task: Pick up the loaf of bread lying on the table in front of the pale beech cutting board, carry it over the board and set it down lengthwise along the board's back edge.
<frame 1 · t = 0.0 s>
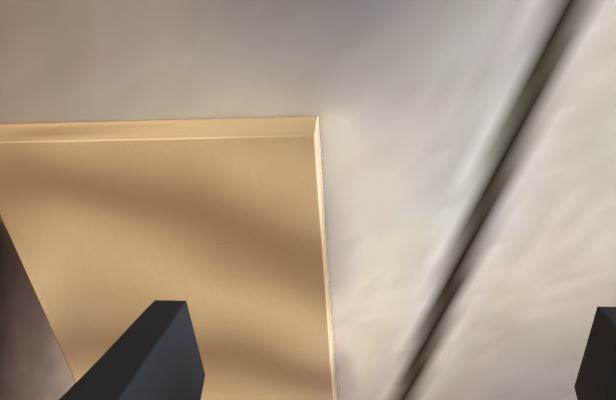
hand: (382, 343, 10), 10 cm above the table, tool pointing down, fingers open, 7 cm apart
board: (203, 339, 25), on the table
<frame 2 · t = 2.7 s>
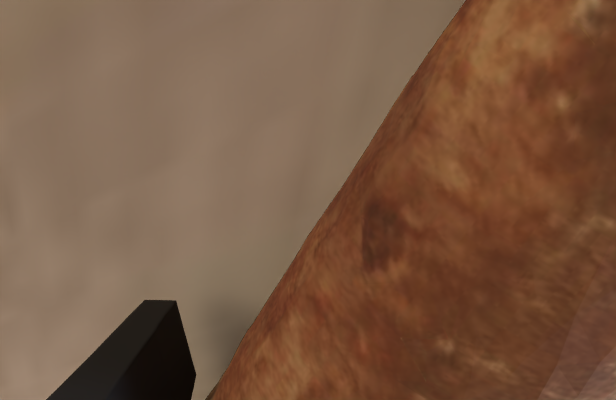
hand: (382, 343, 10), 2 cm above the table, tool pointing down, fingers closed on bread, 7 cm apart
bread: (371, 265, 11), on the table, touching gripper
when the fingers open (3 cm above the table, at t = 7.5 s): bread stays where it is, resting on board.
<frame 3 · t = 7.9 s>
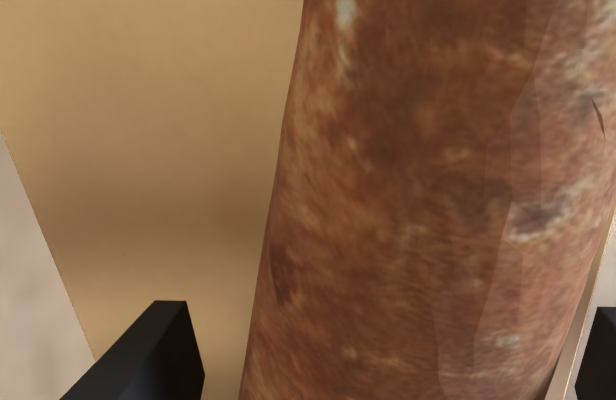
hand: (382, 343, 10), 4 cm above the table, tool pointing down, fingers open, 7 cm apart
board: (317, 225, 13), on the table
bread: (357, 281, 12), point 1 cm above the table, touching board
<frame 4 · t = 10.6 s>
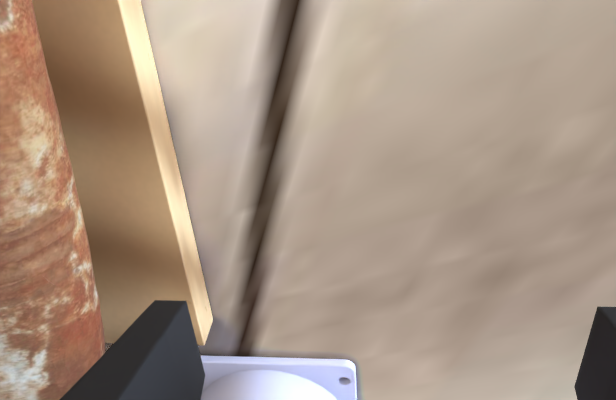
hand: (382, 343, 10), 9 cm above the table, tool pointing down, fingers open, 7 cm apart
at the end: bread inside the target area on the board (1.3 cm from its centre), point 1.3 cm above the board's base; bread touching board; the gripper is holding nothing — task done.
